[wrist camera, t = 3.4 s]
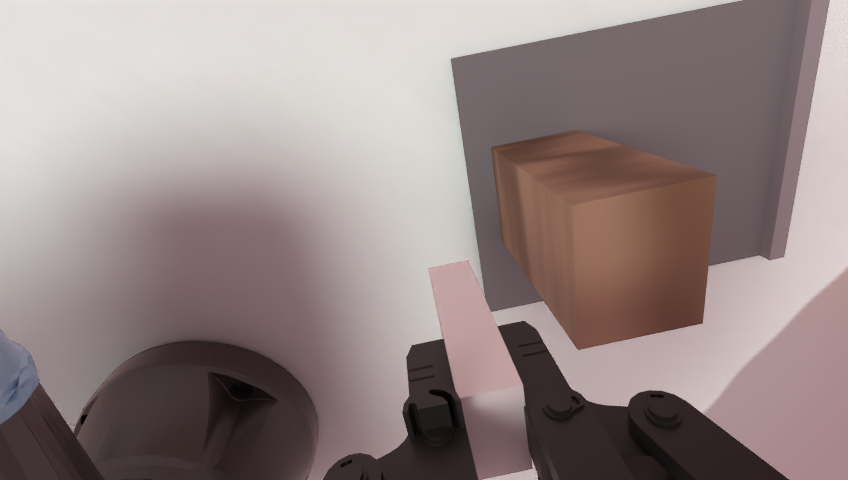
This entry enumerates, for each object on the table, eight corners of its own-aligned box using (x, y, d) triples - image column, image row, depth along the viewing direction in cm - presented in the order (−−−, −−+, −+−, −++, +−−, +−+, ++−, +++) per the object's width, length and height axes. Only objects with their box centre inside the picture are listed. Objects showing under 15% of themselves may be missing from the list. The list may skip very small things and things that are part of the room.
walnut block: (502, 241, 26) (578, 350, 16) (491, 147, 24) (571, 205, 14) (579, 225, 26) (702, 323, 16) (575, 129, 24) (717, 175, 14)
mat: (487, 309, 29) (491, 318, 28) (451, 58, 22) (454, 58, 21) (768, 249, 29) (783, 257, 28) (810, -14, 23) (832, -18, 22)
